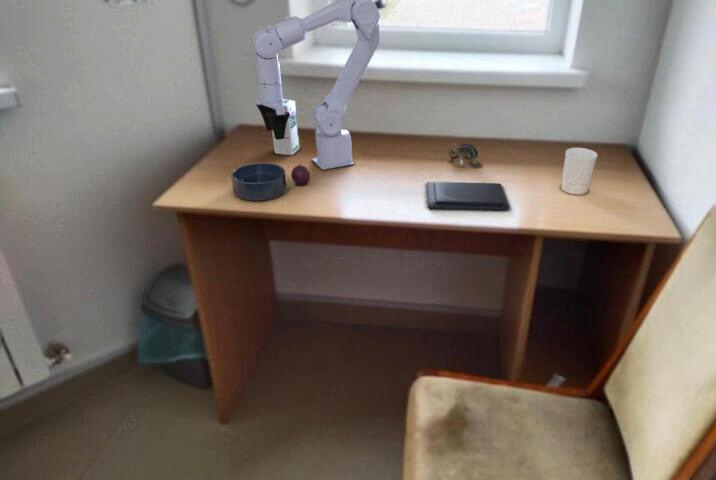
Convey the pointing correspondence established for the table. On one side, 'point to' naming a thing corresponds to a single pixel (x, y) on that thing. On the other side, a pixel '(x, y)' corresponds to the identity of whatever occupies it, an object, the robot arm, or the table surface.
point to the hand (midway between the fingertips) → (275, 134)
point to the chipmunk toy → (465, 154)
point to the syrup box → (288, 132)
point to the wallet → (466, 196)
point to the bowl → (258, 181)
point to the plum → (300, 175)
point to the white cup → (578, 170)
